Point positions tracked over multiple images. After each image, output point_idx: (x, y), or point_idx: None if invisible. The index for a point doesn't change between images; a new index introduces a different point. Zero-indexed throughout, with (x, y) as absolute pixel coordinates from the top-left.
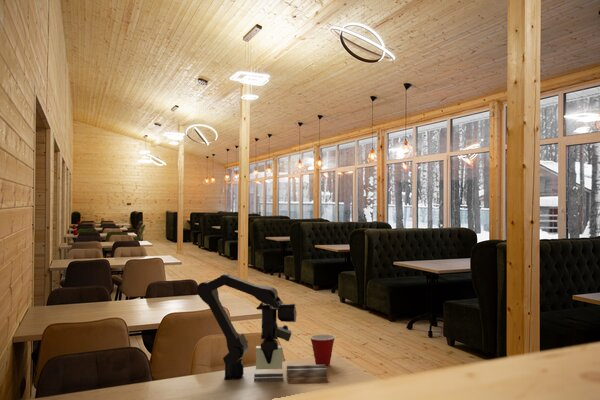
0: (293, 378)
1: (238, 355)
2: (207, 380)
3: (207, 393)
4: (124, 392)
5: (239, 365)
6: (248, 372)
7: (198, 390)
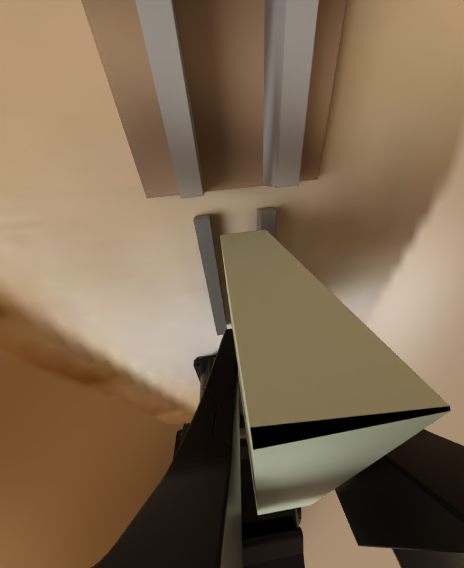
0: (320, 130)
1: None
2: None
3: None
4: None
5: (240, 399)
6: (175, 347)
7: None
